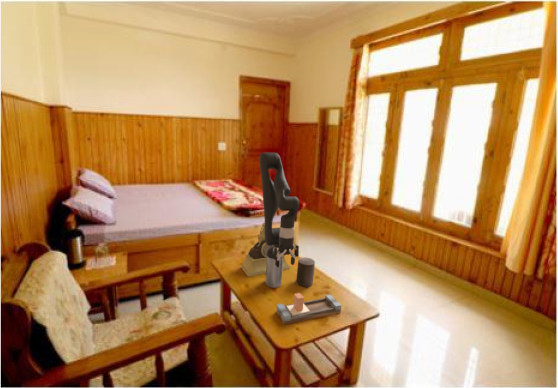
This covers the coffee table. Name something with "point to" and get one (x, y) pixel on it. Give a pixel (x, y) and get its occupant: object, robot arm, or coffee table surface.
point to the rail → (311, 310)
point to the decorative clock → (259, 257)
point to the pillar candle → (305, 272)
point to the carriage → (297, 306)
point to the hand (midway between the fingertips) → (284, 265)
